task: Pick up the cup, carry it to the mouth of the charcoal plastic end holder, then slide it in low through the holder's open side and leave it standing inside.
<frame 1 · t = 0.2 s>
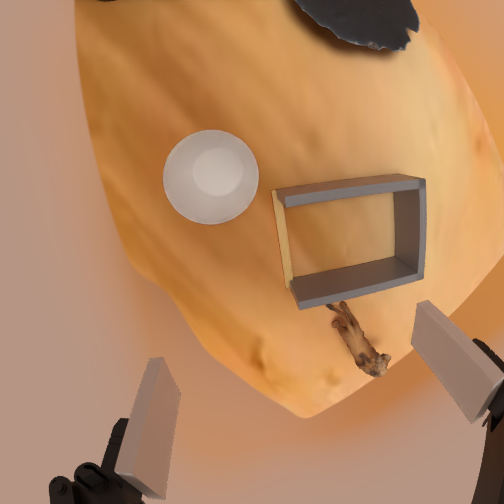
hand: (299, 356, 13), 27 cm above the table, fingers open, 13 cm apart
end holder: (330, 231, 39), on the table
lion figurine: (351, 327, 45), on the table
cup: (218, 171, 35), on the table
board: (348, 4, 27), on the table
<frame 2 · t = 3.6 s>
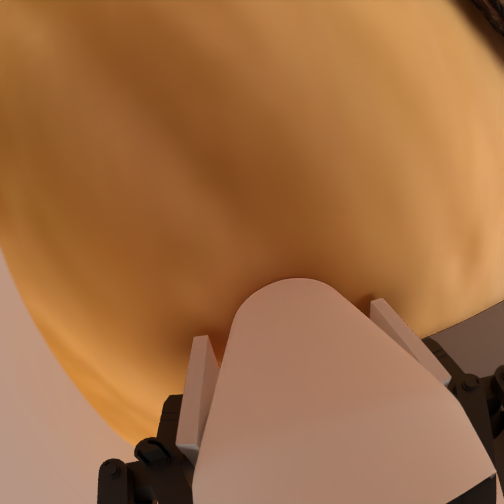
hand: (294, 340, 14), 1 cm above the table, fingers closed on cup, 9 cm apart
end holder: (447, 381, 18), on the table
cup: (291, 329, 15), on the table, touching gripper
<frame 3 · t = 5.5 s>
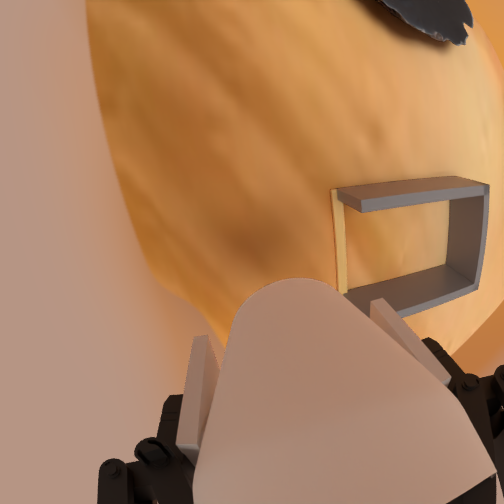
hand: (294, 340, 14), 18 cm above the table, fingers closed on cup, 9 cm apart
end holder: (389, 238, 32), on the table
cup: (291, 328, 15), point 17 cm above the table, touching gripper
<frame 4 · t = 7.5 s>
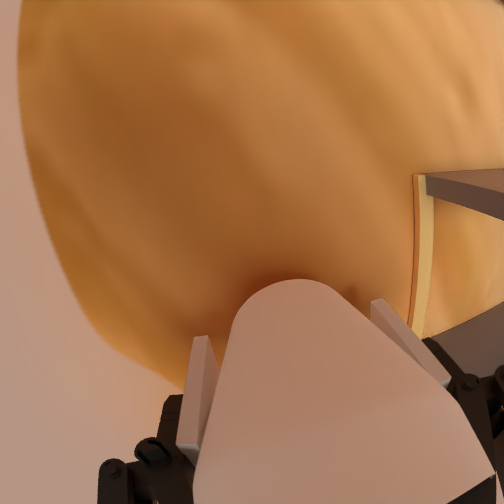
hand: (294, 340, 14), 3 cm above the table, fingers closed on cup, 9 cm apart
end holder: (480, 259, 17), on the table
cup: (291, 330, 15), point 2 cm above the table, touching gripper
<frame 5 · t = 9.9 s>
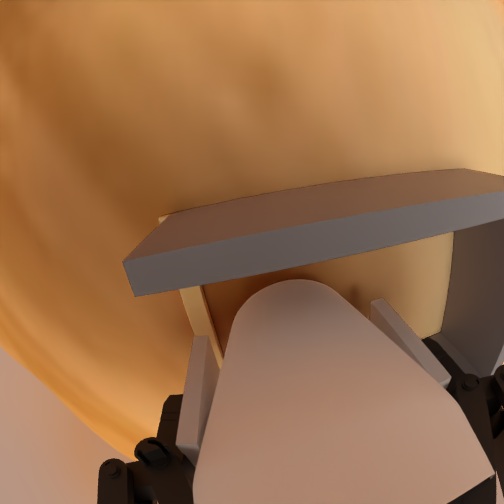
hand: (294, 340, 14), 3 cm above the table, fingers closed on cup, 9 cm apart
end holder: (316, 305, 17), on the table
cup: (291, 330, 15), point 2 cm above the table, touching gripper
when the fingers open (3 cm above the table, at t = 11.7 s): cup drops 2 cm, resting in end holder.
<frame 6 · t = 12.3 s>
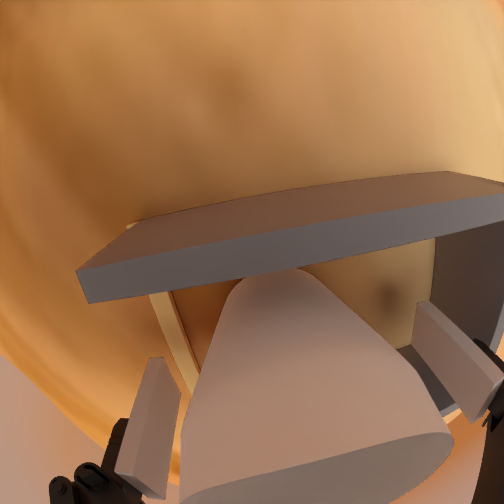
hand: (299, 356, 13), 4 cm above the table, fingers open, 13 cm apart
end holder: (285, 312, 17), on the table
cup: (276, 313, 17), resting in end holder
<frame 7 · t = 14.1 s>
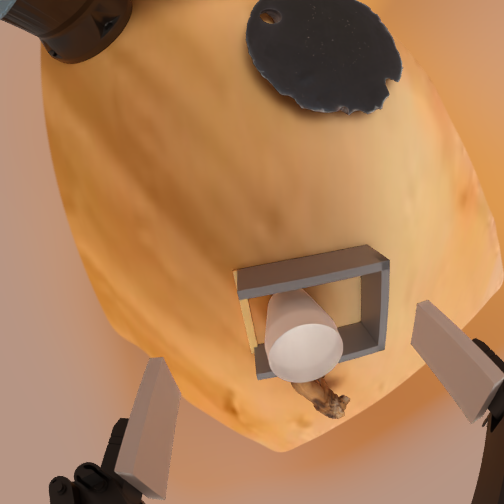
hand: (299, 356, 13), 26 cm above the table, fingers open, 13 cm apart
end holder: (293, 305, 41), on the table
lion figurine: (309, 370, 45), on the table
cup: (289, 305, 41), resting in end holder
board: (321, 52, 30), on the table
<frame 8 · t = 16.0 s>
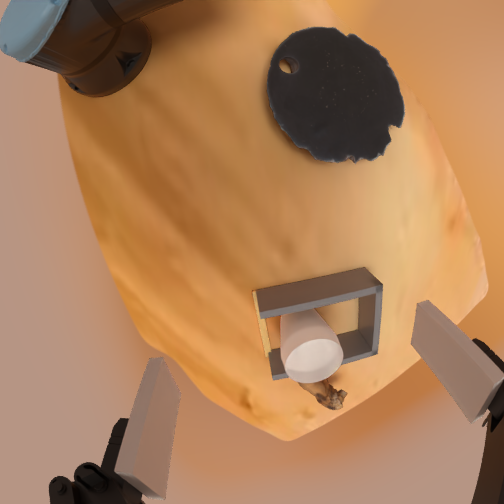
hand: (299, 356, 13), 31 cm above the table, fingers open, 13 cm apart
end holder: (301, 317, 48), on the table
lion figurine: (312, 368, 53), on the table
cup: (298, 317, 48), resting in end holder
board: (332, 95, 36), on the table
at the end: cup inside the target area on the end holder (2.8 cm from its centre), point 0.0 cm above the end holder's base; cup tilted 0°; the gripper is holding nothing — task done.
